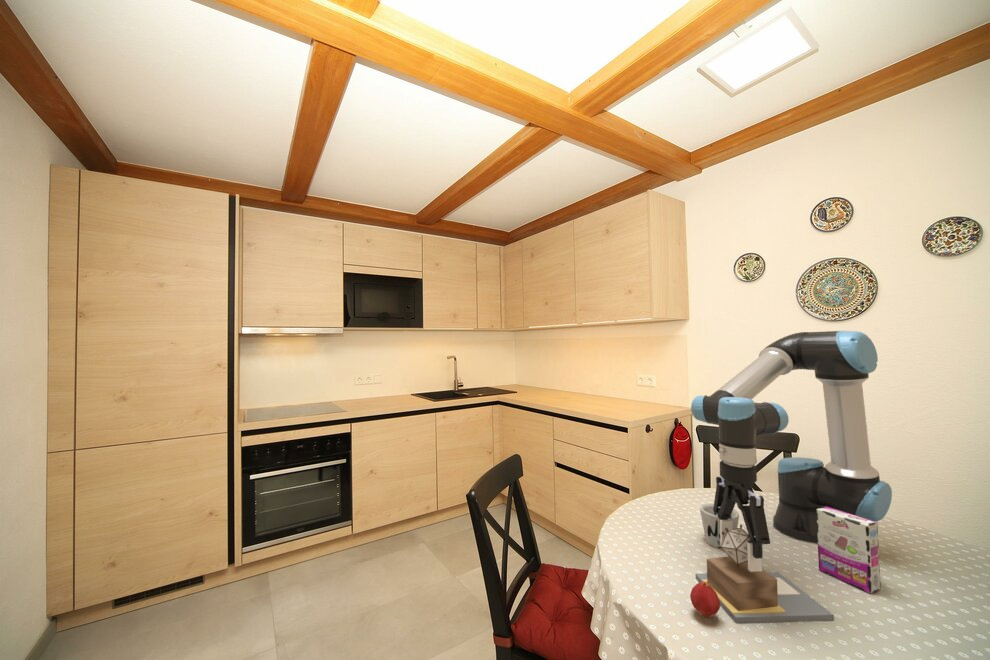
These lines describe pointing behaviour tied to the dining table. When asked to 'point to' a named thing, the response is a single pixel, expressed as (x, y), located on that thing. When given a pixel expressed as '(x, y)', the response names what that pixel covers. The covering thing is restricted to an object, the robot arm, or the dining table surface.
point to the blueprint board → (789, 607)
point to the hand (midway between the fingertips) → (740, 557)
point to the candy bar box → (849, 548)
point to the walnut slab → (742, 584)
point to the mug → (714, 523)
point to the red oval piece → (705, 599)
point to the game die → (736, 545)
